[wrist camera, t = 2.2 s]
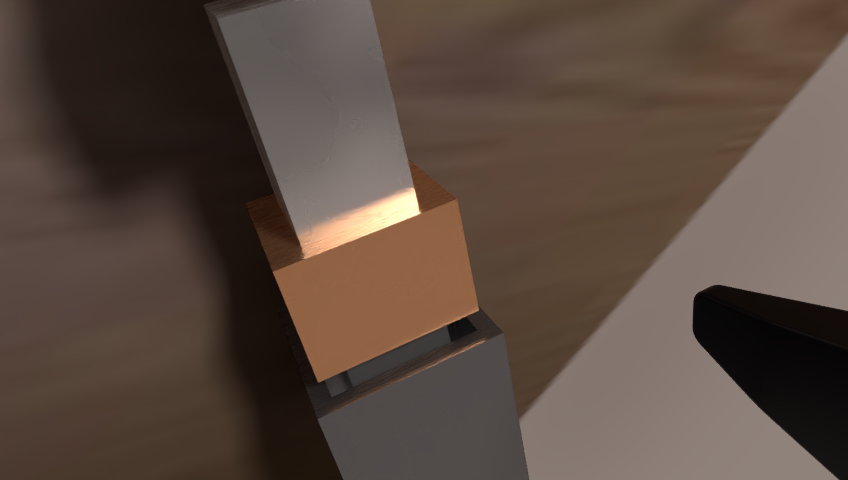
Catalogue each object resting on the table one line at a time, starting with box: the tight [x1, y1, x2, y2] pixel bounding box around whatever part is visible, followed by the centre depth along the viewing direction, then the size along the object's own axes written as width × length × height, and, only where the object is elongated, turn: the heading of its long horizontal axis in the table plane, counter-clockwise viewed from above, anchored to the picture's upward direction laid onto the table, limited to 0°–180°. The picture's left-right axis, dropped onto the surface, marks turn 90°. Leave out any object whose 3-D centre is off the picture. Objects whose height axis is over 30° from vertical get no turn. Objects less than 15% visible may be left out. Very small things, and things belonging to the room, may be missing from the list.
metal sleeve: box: [277, 306, 529, 480], centre depth 18 cm, size 6×5×7 cm
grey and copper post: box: [204, 0, 479, 390], centre depth 14 cm, size 12×4×4 cm, turn 13°
